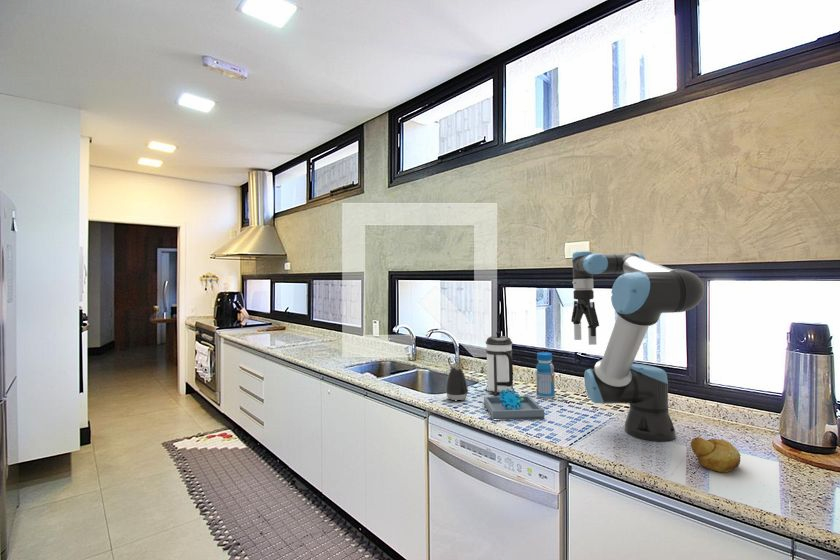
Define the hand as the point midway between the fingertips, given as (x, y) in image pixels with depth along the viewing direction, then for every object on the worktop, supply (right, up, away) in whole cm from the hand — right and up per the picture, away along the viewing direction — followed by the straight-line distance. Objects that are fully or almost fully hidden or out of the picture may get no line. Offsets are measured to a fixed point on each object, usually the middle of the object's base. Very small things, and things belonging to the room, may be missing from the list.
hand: (584, 342), depth 158 cm
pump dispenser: (-50, -31, +23) cm, 63 cm away
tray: (-28, -29, +4) cm, 41 cm away
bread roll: (+18, -28, -47) cm, 58 cm away
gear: (-28, -29, +4) cm, 41 cm away
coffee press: (-27, -30, +32) cm, 52 cm away
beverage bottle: (-8, -30, +25) cm, 40 cm away
